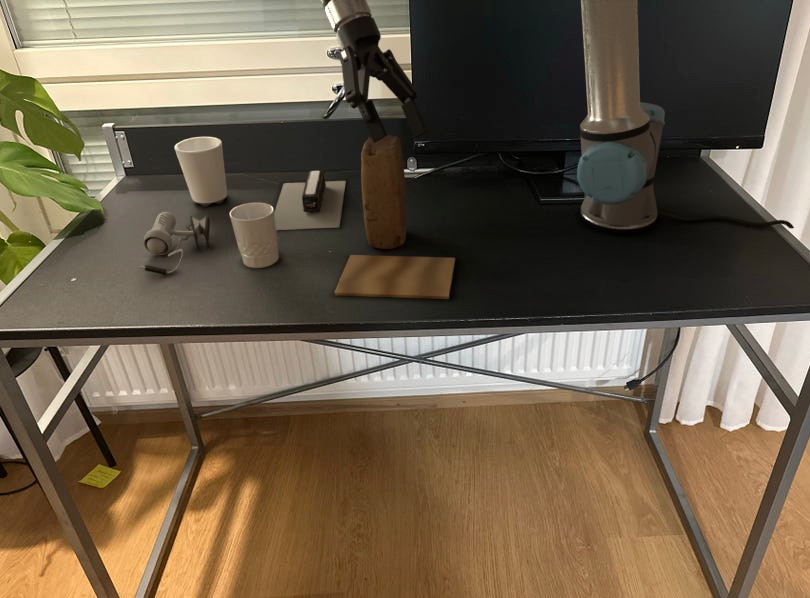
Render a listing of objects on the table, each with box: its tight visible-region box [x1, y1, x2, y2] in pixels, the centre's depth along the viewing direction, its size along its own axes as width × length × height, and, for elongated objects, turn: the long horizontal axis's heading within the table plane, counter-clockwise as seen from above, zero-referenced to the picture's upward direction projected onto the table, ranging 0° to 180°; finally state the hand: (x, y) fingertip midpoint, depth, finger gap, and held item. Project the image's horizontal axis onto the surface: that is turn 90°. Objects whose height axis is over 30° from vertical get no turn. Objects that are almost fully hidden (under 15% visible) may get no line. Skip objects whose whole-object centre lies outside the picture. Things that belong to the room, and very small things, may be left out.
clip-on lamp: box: [139, 211, 211, 276], centre depth 134 cm, size 12×6×18 cm
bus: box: [274, 169, 347, 231], centre depth 152 cm, size 14×25×4 cm, turn 3°
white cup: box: [229, 201, 280, 269], centre depth 130 cm, size 8×8×10 cm
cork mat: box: [334, 254, 456, 300], centre depth 126 cm, size 20×14×1 cm
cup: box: [174, 136, 228, 207], centre depth 153 cm, size 10×10×13 cm
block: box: [360, 134, 408, 250], centre depth 133 cm, size 11×8×20 cm
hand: (401, 137), depth 127 cm, fingers open, 13 cm apart
